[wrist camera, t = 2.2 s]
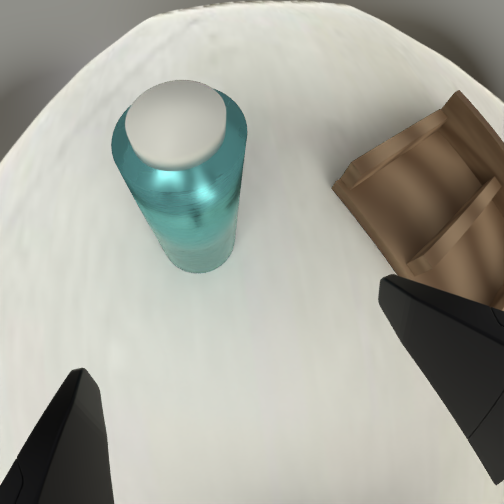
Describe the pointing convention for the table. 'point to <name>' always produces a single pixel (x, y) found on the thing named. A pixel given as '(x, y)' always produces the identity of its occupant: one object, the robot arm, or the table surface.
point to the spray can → (185, 169)
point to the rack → (436, 202)
